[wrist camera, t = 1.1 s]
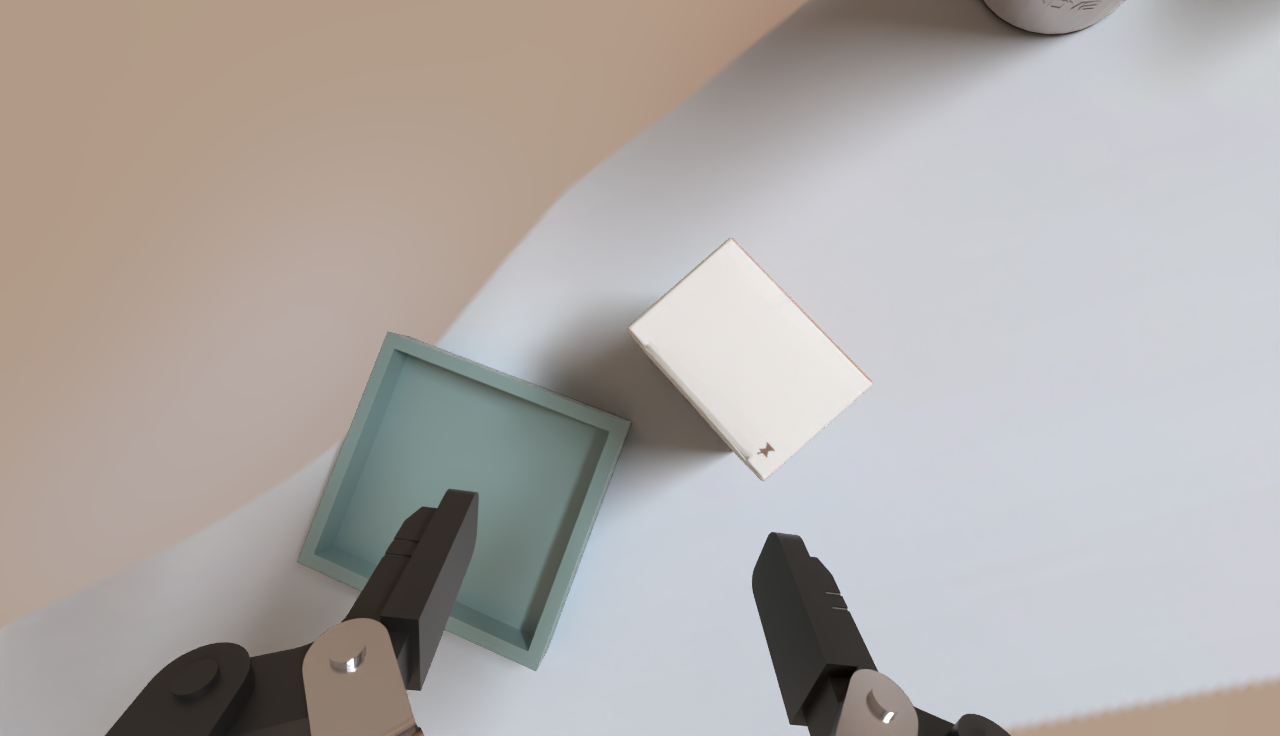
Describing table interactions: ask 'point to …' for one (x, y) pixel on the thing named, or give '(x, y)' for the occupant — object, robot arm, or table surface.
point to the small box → (748, 359)
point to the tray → (471, 487)
